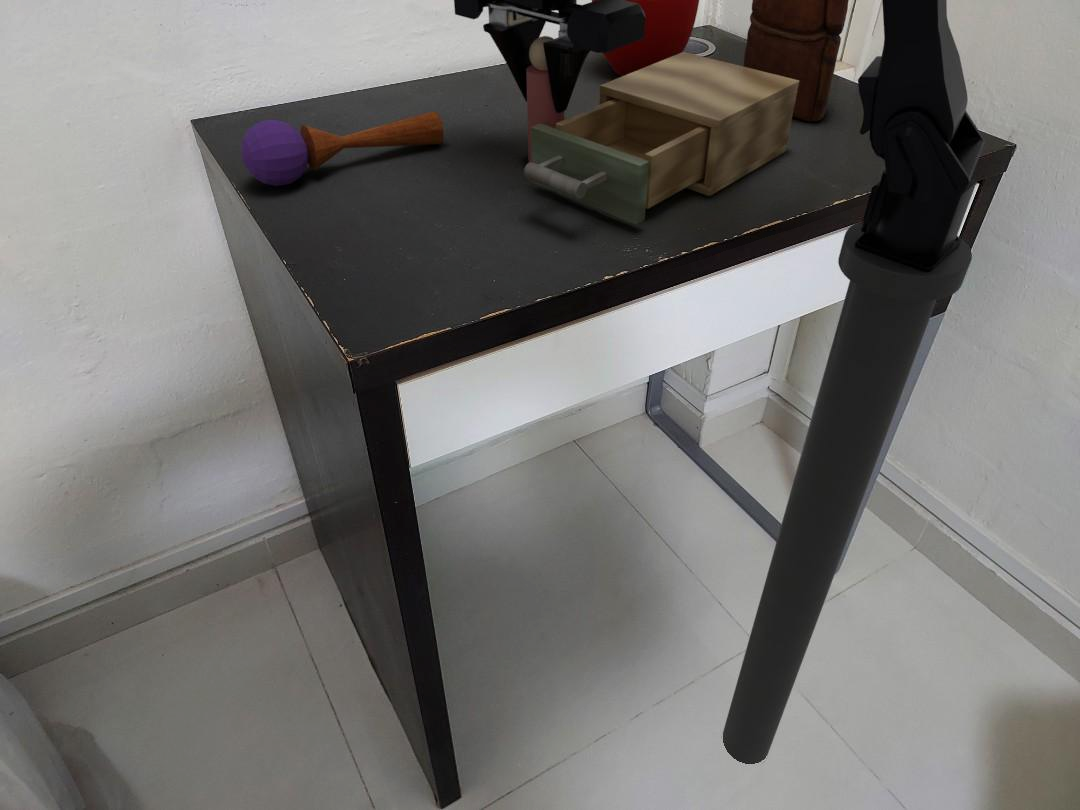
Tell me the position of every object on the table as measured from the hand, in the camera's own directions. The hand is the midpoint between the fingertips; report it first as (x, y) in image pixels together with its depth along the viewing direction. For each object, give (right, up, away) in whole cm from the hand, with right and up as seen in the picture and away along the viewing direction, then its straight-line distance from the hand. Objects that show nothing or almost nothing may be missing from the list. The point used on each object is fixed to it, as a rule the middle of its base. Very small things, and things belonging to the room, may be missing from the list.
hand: (545, 106), depth 76 cm
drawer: (+6, -9, -3) cm, 11 cm away
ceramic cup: (+13, +15, +25) cm, 32 cm away
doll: (0, -4, +4) cm, 6 cm away
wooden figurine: (+27, +5, +14) cm, 31 cm away
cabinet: (+15, -3, +4) cm, 16 cm away
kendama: (-20, -5, +4) cm, 21 cm away
